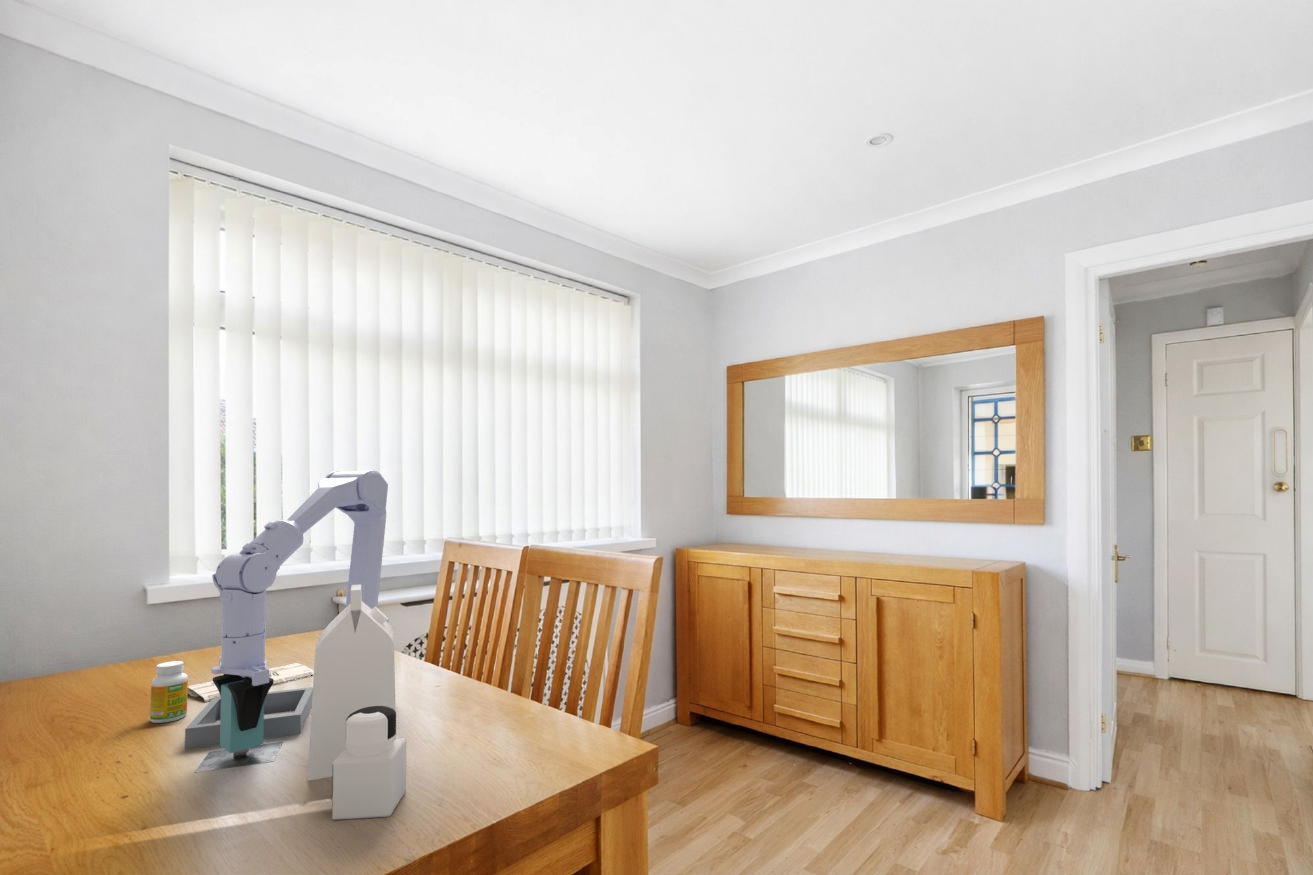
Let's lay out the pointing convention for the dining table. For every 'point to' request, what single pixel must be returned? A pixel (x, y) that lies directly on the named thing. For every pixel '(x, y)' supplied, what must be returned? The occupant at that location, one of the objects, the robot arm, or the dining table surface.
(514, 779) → the dining table surface
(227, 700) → the strut
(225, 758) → the stud plate
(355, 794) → the medicine bottle
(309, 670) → the newspaper
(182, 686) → the supplement bottle
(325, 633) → the milk
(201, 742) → the bin
